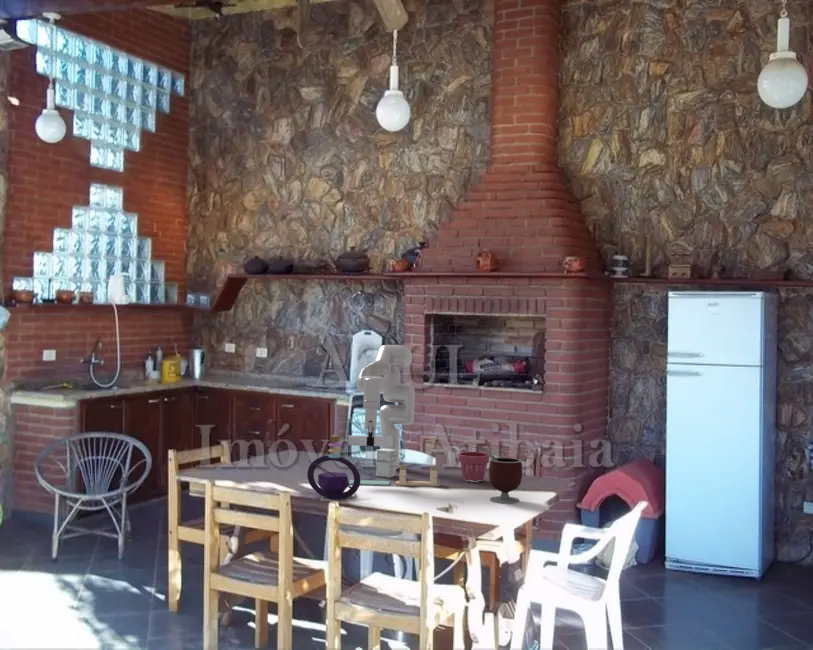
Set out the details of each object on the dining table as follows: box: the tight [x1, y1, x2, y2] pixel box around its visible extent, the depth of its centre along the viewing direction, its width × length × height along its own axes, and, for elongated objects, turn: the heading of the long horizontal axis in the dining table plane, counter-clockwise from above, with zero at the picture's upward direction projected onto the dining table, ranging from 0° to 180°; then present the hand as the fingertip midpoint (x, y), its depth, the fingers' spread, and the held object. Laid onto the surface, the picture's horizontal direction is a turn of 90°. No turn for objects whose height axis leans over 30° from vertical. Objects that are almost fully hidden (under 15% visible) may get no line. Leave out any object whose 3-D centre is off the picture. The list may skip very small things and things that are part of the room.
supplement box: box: [375, 448, 397, 479], centre depth 418 cm, size 7×7×13 cm
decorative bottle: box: [307, 434, 361, 500], centre depth 369 cm, size 22×21×25 cm
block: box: [347, 434, 393, 447], centre depth 397 cm, size 20×4×4 cm, turn 90°
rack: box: [395, 464, 441, 487], centre depth 398 cm, size 6×20×8 cm, turn 90°
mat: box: [348, 479, 391, 487], centre depth 397 cm, size 8×18×1 cm, turn 90°
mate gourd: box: [485, 452, 523, 505], centre depth 367 cm, size 16×14×20 cm
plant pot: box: [458, 451, 490, 481], centre depth 411 cm, size 14×14×13 cm
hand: (370, 444), depth 397 cm, fingers closed on block, 4 cm apart
